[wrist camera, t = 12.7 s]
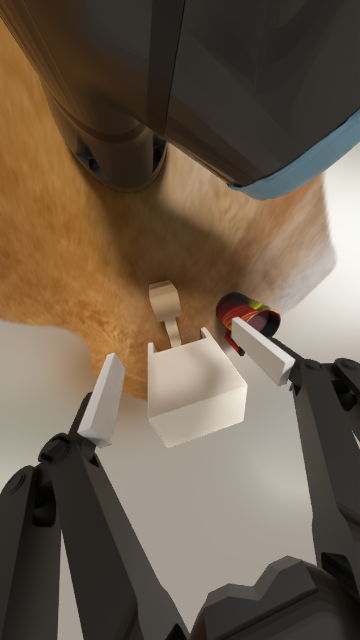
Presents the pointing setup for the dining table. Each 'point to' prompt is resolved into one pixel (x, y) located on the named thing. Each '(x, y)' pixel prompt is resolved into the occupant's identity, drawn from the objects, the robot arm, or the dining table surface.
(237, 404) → the cabinet
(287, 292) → the dining table surface
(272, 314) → the mug
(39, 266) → the dining table surface
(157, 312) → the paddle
